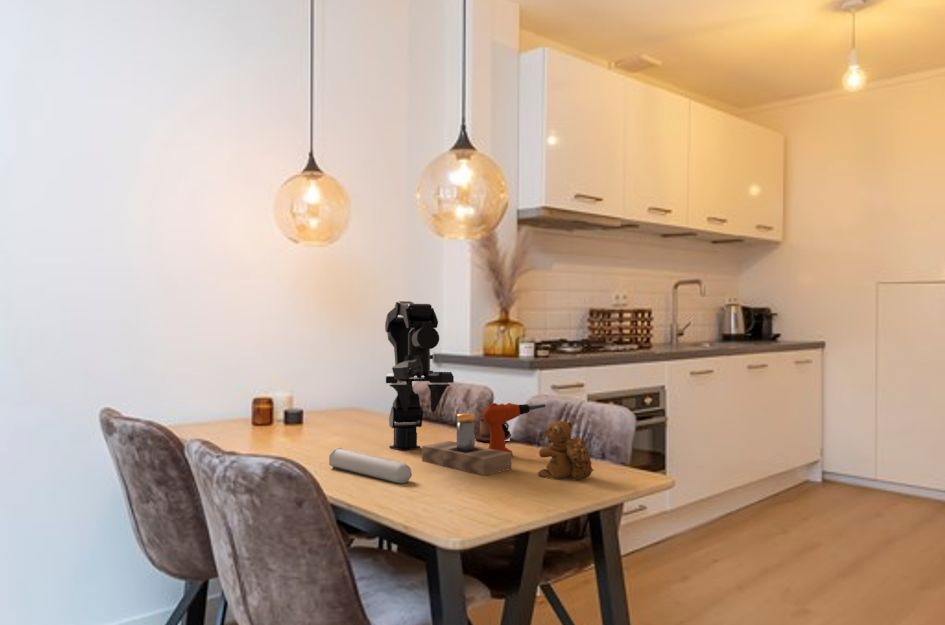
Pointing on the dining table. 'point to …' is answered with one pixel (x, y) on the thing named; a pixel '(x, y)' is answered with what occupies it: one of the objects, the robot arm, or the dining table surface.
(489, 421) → the toy drill
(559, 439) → the stuffed squirrel
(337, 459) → the tube
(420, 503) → the dining table surface
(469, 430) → the metallic cylinder
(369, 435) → the dining table surface
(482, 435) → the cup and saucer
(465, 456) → the grey hollow block
